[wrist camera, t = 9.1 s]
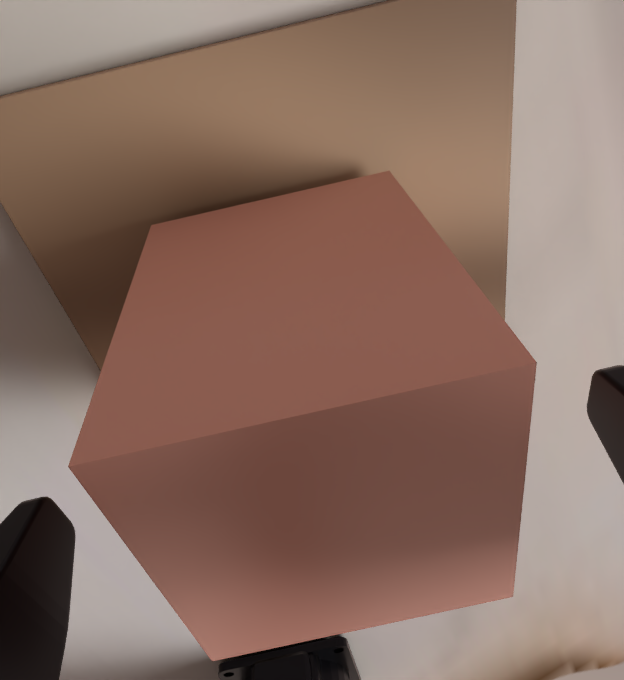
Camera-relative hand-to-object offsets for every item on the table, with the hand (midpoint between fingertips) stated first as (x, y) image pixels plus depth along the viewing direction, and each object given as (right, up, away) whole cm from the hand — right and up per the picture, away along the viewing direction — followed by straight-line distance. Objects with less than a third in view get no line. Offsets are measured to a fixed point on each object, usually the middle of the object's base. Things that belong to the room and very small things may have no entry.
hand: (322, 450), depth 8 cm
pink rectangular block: (-1, +3, +4) cm, 5 cm away
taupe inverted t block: (-1, +3, +5) cm, 6 cm away
